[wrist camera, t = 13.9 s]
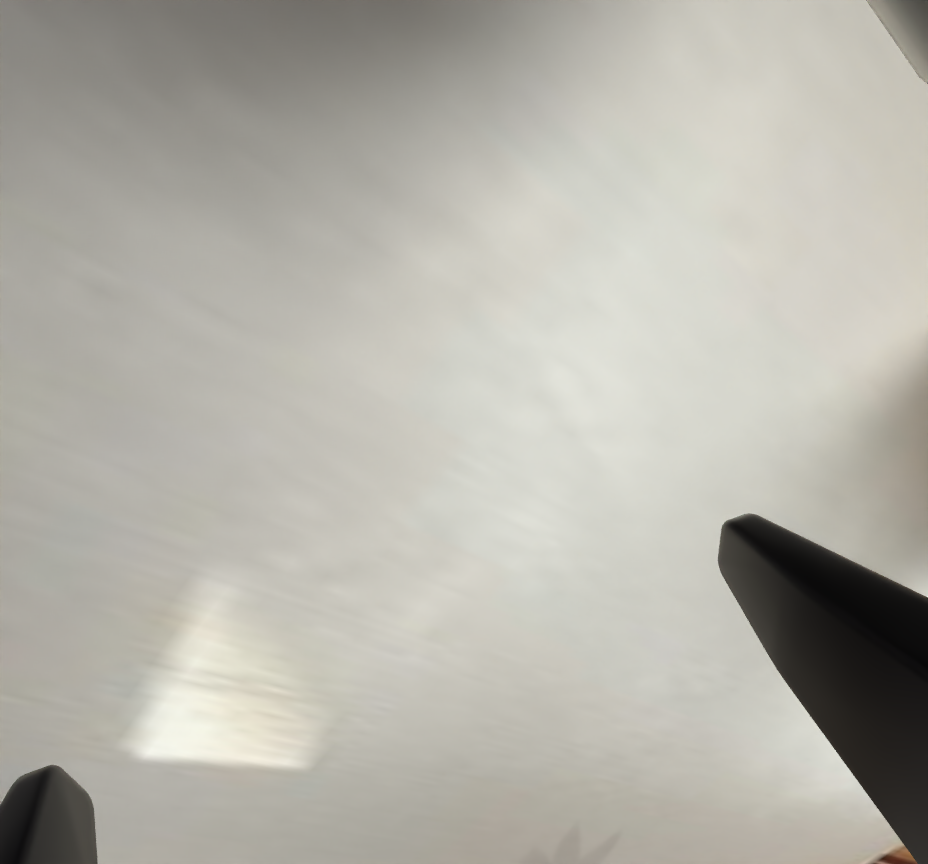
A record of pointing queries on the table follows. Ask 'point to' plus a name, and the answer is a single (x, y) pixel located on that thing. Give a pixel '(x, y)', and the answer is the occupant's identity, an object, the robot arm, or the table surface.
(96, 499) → the table surface
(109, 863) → the table surface
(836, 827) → the table surface
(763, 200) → the table surface
